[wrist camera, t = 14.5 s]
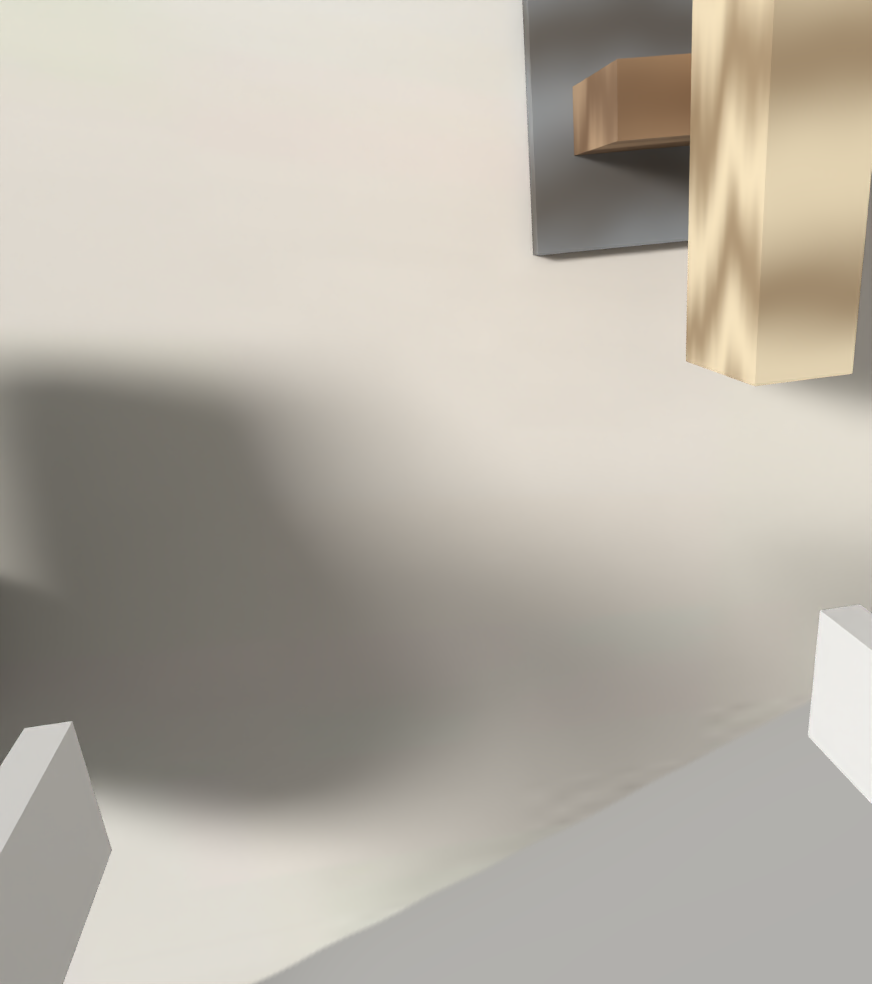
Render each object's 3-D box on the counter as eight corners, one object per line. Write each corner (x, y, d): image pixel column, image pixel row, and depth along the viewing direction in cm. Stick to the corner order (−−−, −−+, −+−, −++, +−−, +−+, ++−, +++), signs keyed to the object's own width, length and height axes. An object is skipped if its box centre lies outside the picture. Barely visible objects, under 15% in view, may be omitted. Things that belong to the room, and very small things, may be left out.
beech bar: (768, 351, 34) (852, 373, 29) (686, 361, 34) (754, 385, 29) (801, -252, 27) (923, -379, 21) (697, -246, 27) (793, -374, 21)
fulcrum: (787, 229, 40) (876, 228, 33) (533, 255, 39) (573, 259, 32) (815, -188, 34) (931, -290, 27) (515, -174, 32) (560, -278, 26)
